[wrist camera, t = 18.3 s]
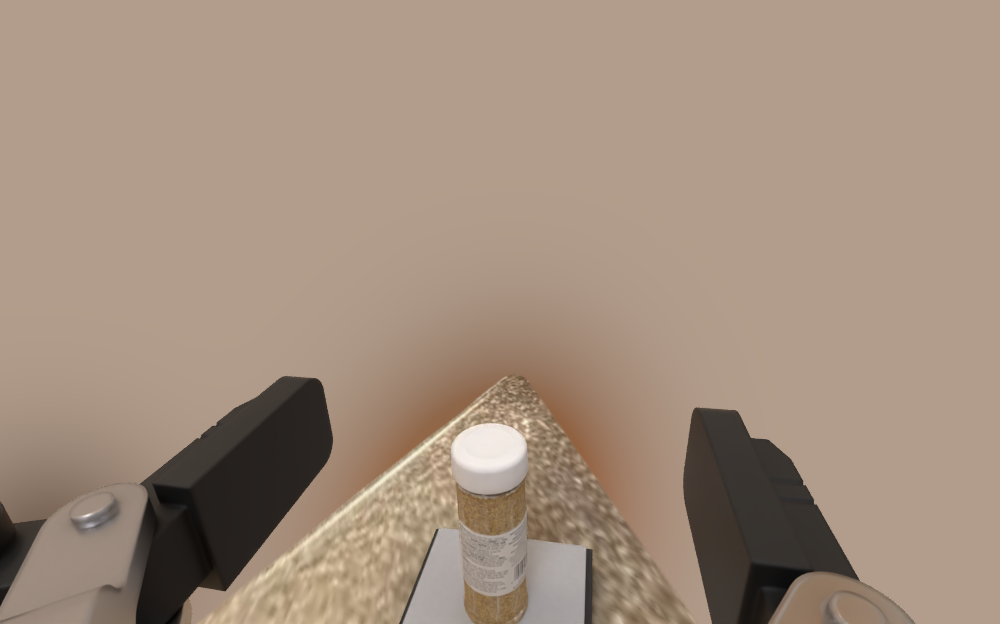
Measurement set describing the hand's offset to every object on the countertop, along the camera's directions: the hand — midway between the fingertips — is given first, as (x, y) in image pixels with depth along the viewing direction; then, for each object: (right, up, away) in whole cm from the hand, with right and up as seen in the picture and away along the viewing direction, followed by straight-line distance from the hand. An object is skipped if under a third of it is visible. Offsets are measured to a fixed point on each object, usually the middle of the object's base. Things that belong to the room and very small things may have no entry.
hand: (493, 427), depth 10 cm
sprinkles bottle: (0, -18, +23) cm, 29 cm away
